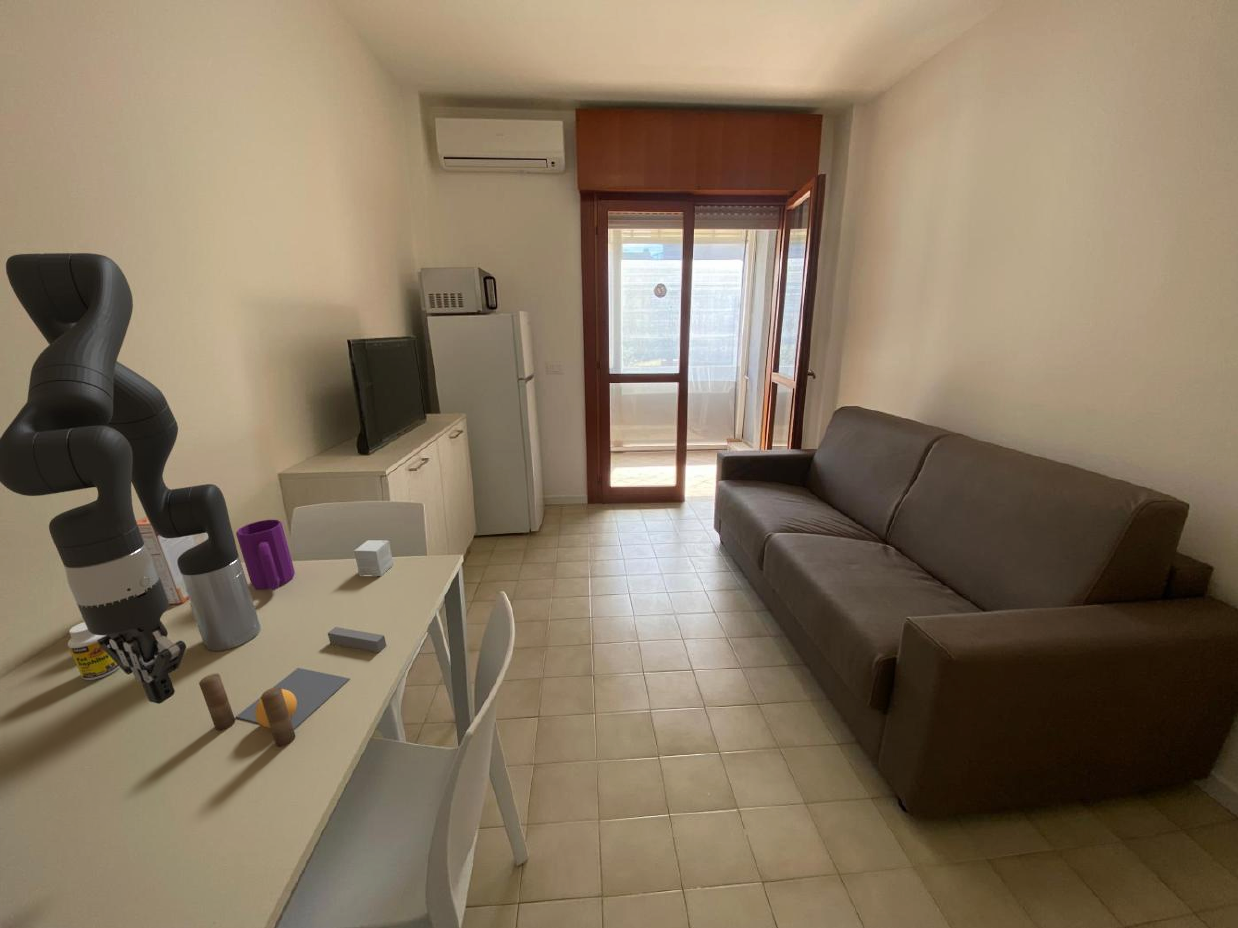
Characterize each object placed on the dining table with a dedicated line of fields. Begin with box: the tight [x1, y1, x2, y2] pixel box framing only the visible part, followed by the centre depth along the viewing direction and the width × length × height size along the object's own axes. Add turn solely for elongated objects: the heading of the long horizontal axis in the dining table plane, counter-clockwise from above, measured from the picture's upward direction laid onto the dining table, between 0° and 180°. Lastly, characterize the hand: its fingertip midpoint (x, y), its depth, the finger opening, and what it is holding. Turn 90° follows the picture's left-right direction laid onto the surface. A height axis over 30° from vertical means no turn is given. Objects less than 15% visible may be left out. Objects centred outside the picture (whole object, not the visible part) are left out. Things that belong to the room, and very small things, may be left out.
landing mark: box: [235, 667, 351, 731], centre depth 86 cm, size 12×12×1 cm
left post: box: [198, 673, 236, 732], centre depth 80 cm, size 3×3×9 cm
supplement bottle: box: [67, 621, 120, 681], centre depth 93 cm, size 6×6×10 cm
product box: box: [353, 539, 394, 577], centre depth 127 cm, size 6×6×7 cm
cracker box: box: [136, 516, 208, 605], centre depth 119 cm, size 14×6×21 cm, turn 5°
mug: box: [235, 519, 296, 591], centre depth 120 cm, size 9×16×15 cm, turn 38°
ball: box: [255, 689, 297, 728], centre depth 80 cm, size 6×6×6 cm
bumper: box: [327, 626, 387, 653], centre depth 99 cm, size 12×2×2 cm, turn 74°
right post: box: [260, 687, 296, 748], centre depth 76 cm, size 3×3×9 cm
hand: (163, 698), depth 67 cm, fingers closed
